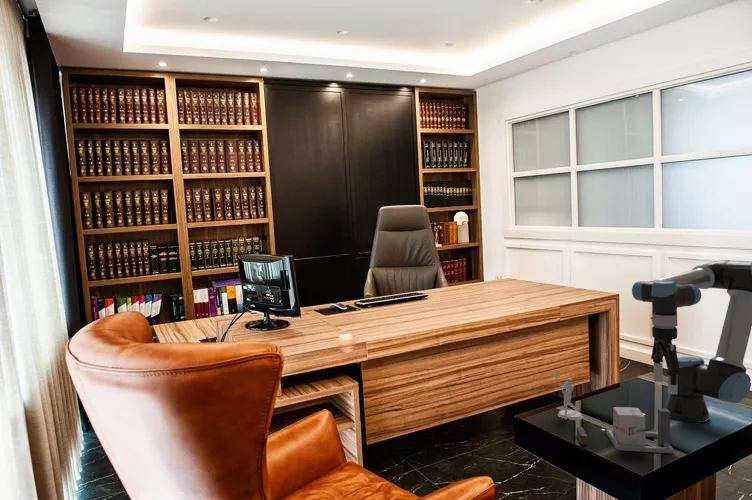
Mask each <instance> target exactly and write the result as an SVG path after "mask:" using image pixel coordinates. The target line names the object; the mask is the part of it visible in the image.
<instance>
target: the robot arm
mask: <svg viewBox="0 0 752 500" xmlns="http://www.w3.org/2000/svg"><path fill="white" fill-rule="evenodd" d="M708 289H719V290H726V293H727V294H728V295H729V301H728V305H727V309H726V314H725V316H724V317H725V318H724V321H723V325H722V330H721V333H720V336H719V337H720V338H719V341H718V346H717V348H716V353H715V356H714V357H711V358H710V359H709V361H708V364H707V363H706V362H705V359H703V358H701V357H697V356H696V357H694V356H692V357H691V356H683V357H682V356H681V357H678V352H677V345H676V344H673V343H672V342H673V341H674V340H676V339H677V338H678V328H677V327H678V308H684V307H691V306H693V305H697V304H698V303H699V302H701V299H702V292H701V290H708ZM631 295H632V297H633V298H634V299H635V300H636V301H640V302H643V303H651V306H652V307H651V308H652V311H651V314H652V315H651V316H650V320H652V322H651V323H652V327H651V335H652V337H653V338H654V339H653V346H652V351H651V357H650V358H651V360H652V362H653V381H654V382H659V383H662V382H663V381H664V379H663V378H664V373H663V371H664V368H663V367H664V366H663V363H664V360H665V364H666V368H667V370H668V371H667V372H666V375H667V394H668V398H667V401H666V403H665V405H664V409H668V410H669V411H670V419H673V420H677V421H681V422H686V421H687V422H686V423H696V422H699V421H705V420H707V419H708V418H709V419H710V412H709V409H708V406H707V404H706V401H705V396H706V397H709V398H713V399H716V400H718V401H722V402H726V403H733V404H737V403H740V402H742V401H743V400H745V398H746V397H748V394H749V393H750V392H751V391H750V390H751V387H752V382H751V381H752V380H751V376H750V375H749V374H747V368H746V367H745V365H744V360H745V355H746V352H747V348H748V343H749V340H750V336H751V331H752V260H750V261H749V260H728V259H726V260H717V261H712V262H708V263H705V264H700V265H697V266H695V267H693V268H692V270H688V271H684V272H681V273H677V274H672V275H670V276H665V277H662V278H657V279H654V280H650V281H645V280H641V281H640V280H638V281H636V282H634V284H633V285H632V288H631ZM672 340H673V341H672ZM663 358H664V359H663ZM699 423H700V422H699Z"/></svg>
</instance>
